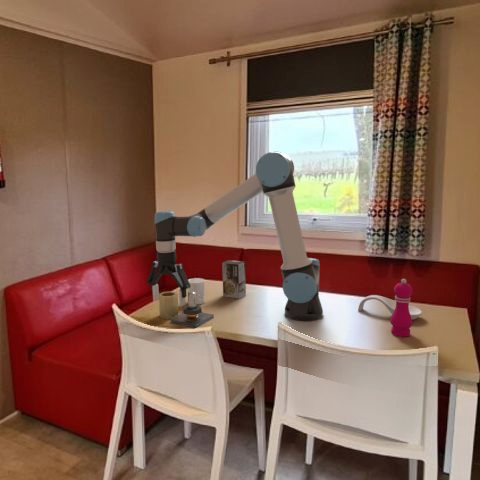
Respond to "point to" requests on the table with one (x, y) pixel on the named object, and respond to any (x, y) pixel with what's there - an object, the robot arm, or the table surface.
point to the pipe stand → (192, 319)
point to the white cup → (197, 289)
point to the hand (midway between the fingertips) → (169, 303)
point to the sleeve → (168, 305)
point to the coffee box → (234, 279)
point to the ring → (192, 312)
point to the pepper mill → (402, 310)
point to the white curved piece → (391, 305)
